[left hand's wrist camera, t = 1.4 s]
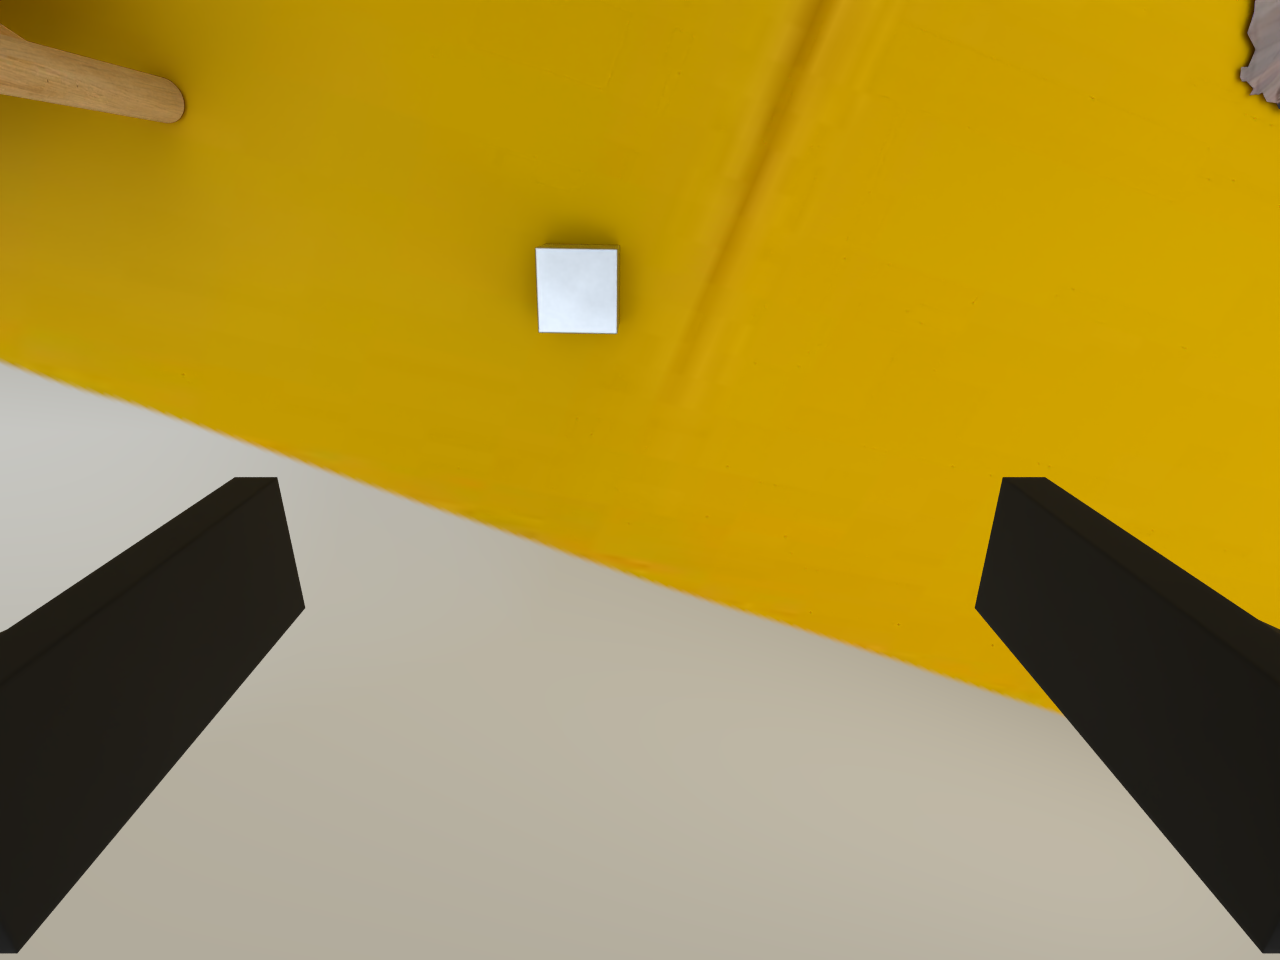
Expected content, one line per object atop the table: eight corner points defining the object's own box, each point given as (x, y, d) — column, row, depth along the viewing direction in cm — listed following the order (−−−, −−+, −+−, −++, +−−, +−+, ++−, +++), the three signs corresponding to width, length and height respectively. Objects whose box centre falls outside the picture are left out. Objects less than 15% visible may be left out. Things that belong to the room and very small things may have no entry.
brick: (546, 322, 47) (538, 333, 43) (544, 243, 45) (534, 247, 41) (619, 323, 47) (617, 334, 43) (619, 245, 45) (617, 248, 41)
